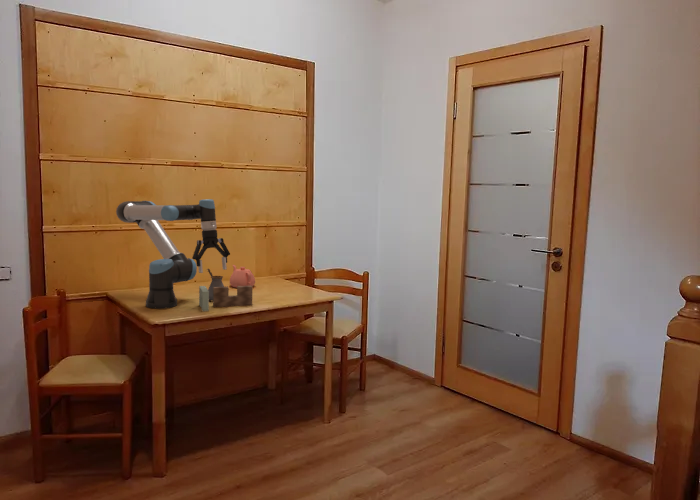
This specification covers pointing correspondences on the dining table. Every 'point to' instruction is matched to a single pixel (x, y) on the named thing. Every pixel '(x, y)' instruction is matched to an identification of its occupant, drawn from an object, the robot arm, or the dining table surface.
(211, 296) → the coffee pot
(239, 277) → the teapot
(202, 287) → the green slotted plate
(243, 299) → the walnut slotted plate
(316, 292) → the dining table surface
